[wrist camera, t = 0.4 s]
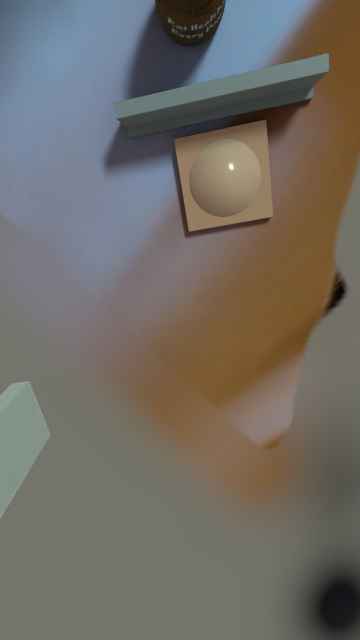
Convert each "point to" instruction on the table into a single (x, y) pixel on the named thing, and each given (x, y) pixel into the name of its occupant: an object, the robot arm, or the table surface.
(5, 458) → the robot arm
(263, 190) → the coaster
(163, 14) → the utensil holder
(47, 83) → the table surface
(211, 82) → the low wall
